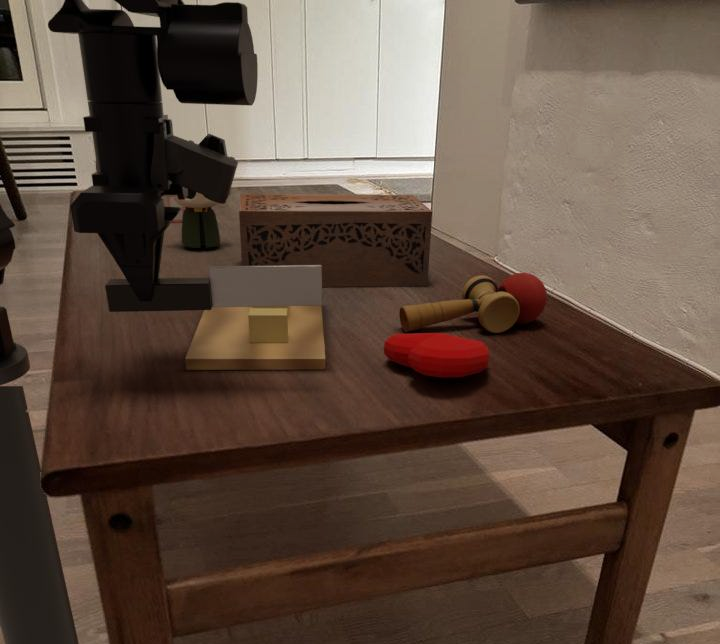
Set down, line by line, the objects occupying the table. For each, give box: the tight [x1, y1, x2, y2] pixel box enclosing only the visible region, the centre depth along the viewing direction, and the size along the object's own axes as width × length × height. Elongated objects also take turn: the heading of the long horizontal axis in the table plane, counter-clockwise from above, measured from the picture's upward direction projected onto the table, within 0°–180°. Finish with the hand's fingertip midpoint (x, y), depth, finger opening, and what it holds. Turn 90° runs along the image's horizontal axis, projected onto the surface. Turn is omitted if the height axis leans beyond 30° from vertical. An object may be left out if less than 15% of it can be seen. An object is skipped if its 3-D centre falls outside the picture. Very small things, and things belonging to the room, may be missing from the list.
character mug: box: [164, 188, 232, 249], centre depth 119 cm, size 11×7×13 cm, turn 106°
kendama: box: [398, 272, 548, 334], centre depth 87 cm, size 8×6×18 cm
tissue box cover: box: [238, 193, 433, 288], centre depth 106 cm, size 26×14×10 cm, turn 97°
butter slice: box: [248, 308, 288, 343], centre depth 78 cm, size 4×2×3 cm, turn 94°
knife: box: [104, 265, 323, 313], centre depth 66 cm, size 19×2×4 cm, turn 94°
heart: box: [383, 332, 490, 378], centre depth 74 cm, size 12×4×10 cm
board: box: [184, 305, 327, 371], centre depth 84 cm, size 14×22×1 cm, turn 4°
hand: (148, 296), depth 66 cm, fingers closed on knife, 2 cm apart
